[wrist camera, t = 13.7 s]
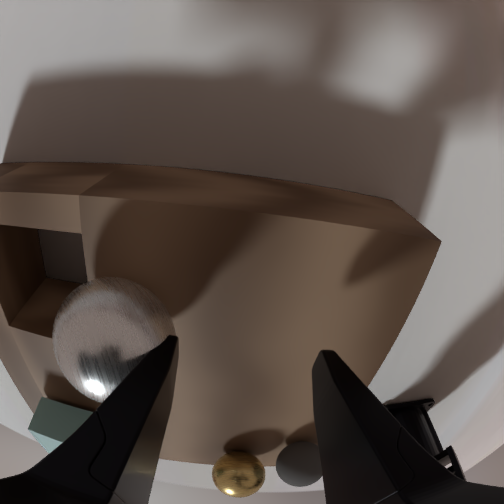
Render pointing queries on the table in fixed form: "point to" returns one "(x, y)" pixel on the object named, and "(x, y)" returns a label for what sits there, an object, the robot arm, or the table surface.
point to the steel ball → (107, 333)
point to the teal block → (55, 422)
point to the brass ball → (238, 474)
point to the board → (214, 288)
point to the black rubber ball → (299, 464)
